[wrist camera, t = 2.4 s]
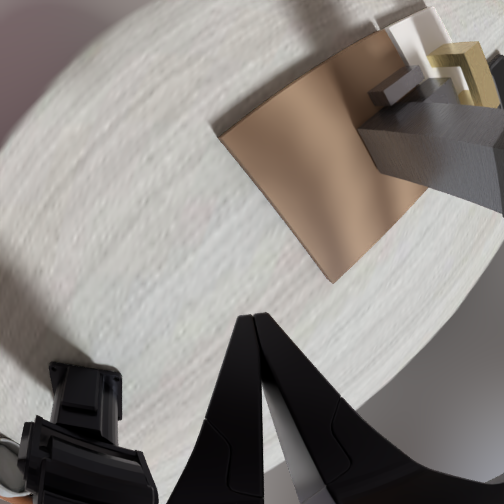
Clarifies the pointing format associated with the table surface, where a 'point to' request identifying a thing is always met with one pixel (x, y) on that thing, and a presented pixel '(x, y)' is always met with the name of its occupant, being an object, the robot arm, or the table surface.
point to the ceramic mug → (10, 470)
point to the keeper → (468, 72)
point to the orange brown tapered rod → (19, 499)
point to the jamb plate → (424, 44)
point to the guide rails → (396, 85)
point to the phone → (498, 77)
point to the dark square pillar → (441, 143)
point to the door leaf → (326, 156)
